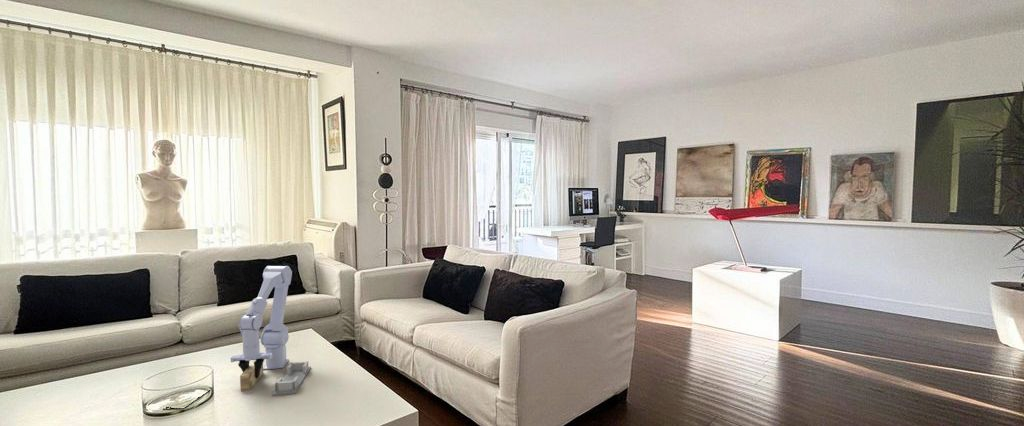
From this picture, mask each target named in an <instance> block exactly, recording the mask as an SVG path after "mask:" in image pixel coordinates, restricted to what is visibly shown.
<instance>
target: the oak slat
mask: <svg viewBox="0 0 1024 426" xmlns="http://www.w3.org/2000/svg"><path fill="white" fill-rule="evenodd" d="M252 361H253V362H251V363H250V364H249V367H248V368H247V369H246V370H245V371H244V372H243V371H242V373H241V374H240V376H239V380H240V381H239V384H240V385H239V386H240V391H241V392H243V391H250V390H251V388H253V386H254V385H255V384H256V382H258V380H259V379H260V377H261V376H262V375H263V374H264V370H263V368H264V363H263V364H262V366H261V369H260V373H259V377H258V378H255V366H254V362H255V361H256V360H252Z"/></svg>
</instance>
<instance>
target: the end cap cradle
mask: <svg viewBox="0 0 1024 426" xmlns="http://www.w3.org/2000/svg"><path fill="white" fill-rule="evenodd" d="M311 369H312V366H311V365H310V366H309V361H300V362H299V361H298V362H290V363H289V364H288V366H287V367H286V374H285V376H284V377H279V378H277V380H276V382H275V383H274V391H273V392H272V393H271V396H272V397H275V396H284V395H285V396H287V395H295V394H297V391H298V390H299V388H300V387H301V386H302V384H303V382H304V380H305V379H306V377H307V375H308V373H309V372H310V371H311Z"/></svg>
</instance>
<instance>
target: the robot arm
mask: <svg viewBox="0 0 1024 426" xmlns="http://www.w3.org/2000/svg"><path fill="white" fill-rule="evenodd" d="M292 277H293V270H292V269H291V267H290V266H289V265H284V266H283V265H267V266H266V267H265V268H264V269H263V273H262V278H263V279H262V280H263V281H262V283H261V287H260V290H259V292H258V295H257V297H255V298H253V299H252V301H251V303H250V305H249V306H248V309H247V312H246V313H245V314H244V315H243V316H242V317H241V318H240V319H239V322H238V325H237V326H238V328H239V330H240V334H241V336H242V354H237V355H232V356H231V357H230V363H234V362H238V364H237V365H238V367H239V368H240V369H241V371H242V373H243V372H244V371H245V370H246V369H247V368H248V367H249V366H250V361H254V360H256V361H255V362H254V366H255V378H258V377H259V373H260V369H261V366H262V364H263V371H265V370H275V369H277V370H278V369H283V368H284V367H285V366H286V364H287V363H288V362H289V361H290V359H289V358H287V346H286V345H287V343H288V341H289V339H290V338H289V327H288V326H287V325H285V324H284V319H285V317H284V316H285V311H286V304H287V299H288V298H287V297H288V290H289V286H290V285H291V281H292ZM273 289H274V294H273V299H272V300H273V301H272V304H271V305H272V306H271V313H270V317H269V318H270V320H269V323H268V324H267V325H266V326H264V327H263V329H262V333H261V334H260V328H261V327H262V325H263V317H264V316H263V315H264V312H265V310H266V308H267V305H268V301H267V299H268V298H269V296H270V294H271V292H272V291H273ZM260 343H261V345H262V346H263V348H265V352H261V351H260V349H261V348H260ZM264 361H265V366H264Z"/></svg>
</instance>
